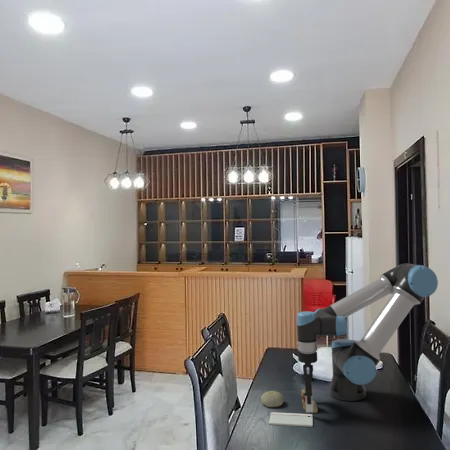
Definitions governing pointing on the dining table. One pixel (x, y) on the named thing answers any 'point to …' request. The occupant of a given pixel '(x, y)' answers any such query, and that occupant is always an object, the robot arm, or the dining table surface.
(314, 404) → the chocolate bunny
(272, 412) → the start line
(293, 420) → the mat
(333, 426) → the dining table surface
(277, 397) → the sea urchin shell
